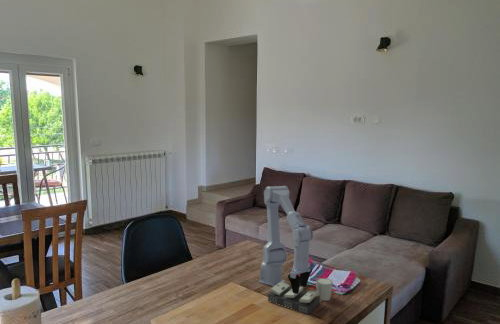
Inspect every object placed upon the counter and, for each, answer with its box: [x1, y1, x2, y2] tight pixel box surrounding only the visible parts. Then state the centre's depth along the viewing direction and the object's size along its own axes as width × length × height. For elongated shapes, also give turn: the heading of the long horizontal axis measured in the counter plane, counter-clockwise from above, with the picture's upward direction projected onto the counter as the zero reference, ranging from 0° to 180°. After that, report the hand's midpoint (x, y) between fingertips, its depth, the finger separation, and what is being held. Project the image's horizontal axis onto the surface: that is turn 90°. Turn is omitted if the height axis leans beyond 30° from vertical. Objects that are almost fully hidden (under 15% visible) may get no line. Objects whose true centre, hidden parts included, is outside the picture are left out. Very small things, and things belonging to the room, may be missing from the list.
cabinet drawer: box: [300, 290, 318, 303], centre depth 144 cm, size 4×9×1 cm, turn 148°
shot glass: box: [315, 277, 334, 302], centre depth 153 cm, size 7×7×7 cm
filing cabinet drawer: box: [284, 286, 304, 298], centre depth 148 cm, size 4×9×1 cm, turn 148°
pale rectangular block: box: [270, 281, 291, 295], centre depth 151 cm, size 4×9×1 cm, turn 147°
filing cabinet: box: [267, 286, 321, 316], centre depth 148 cm, size 18×11×4 cm, turn 57°
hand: (299, 289), depth 147 cm, fingers open, 7 cm apart
